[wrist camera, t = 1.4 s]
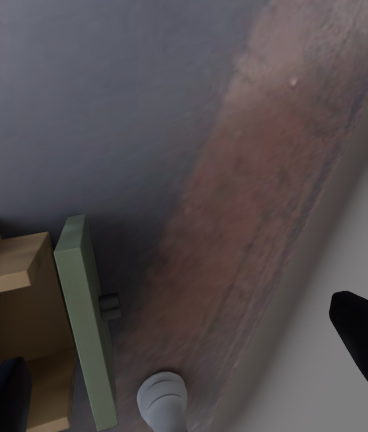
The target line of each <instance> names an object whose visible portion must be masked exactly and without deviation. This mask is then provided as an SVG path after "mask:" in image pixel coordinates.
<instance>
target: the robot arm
mask: <svg viewBox="0 0 368 432" xmlns="http://www.w3.org/2000/svg"><path fill="white" fill-rule="evenodd" d="M329 317H330V320H331V322H332V323H333V325H334V327H335V329H336V330H337V332H338V334H339V335H340V337H341V339H342V341H343V343H344V344H345V346H346V348H347V349H348V351H349V353H350V354H351V356H352V358H353V360H354V362H355V363H356V365H357V366H358V368H359V370H360V371H361V372H362V374H363V375H364V377H365V378H366V380H367V381H368V300H367V299H365V298H363V297H360V296H358V295H356V294H354V293H352V292H349V291H341V292H336V293H334V294H333V296H332V299H331V305H330V310H329ZM32 387H33V378H32V374H31V372H30V370H29V368H28V366H27V364H26V362H25V360H24V358H23V357H21V356H19V357H14V358H9V359H6V360H4V361H3V362H2V363H1V364H0V432H26V429H27V422H28V415H29V408H30V401H31V394H32Z"/></svg>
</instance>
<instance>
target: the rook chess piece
mask: <svg viewBox="0 0 368 432" xmlns="http://www.w3.org/2000/svg"><path fill="white" fill-rule="evenodd" d="M187 401H188V396H187V391H186V388H185V384H184V380H183V379H182V378H181V377H180V376H179V375H177V374H174V373H172V372H169V371H166V372H158V373H156V374H153V375H151V376H150V377H149V378H147V379H146V380H145V381H144V383H143V384H142V386H141V387H140V389H139V390H138V394H137V403H138V406H139V411H140V414H141V416H142V418H143V419H144V420H145V421H146V422H147V424H148V425H149V426H150V427H151V428H152V429H153V431H154V432H188V430H187V425H186V419H185V412H186V405H187Z"/></svg>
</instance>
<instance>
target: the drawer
mask: <svg viewBox="0 0 368 432" xmlns="http://www.w3.org/2000/svg"><path fill="white" fill-rule="evenodd" d="M121 317H122V313H121V307H120V301H119V296H118V292H114V293H110V294H106V295H102V292H101V287H100V282H99V277H98V272H97V267H96V262H95V257H94V253H93V248H92V243H91V238H90V233H89V228H88V223H87V218H86V214H82V215H76V216H70V217H68V218H67V220H66V223H65V225H64V228H63V230H62V233H61V235H60V238H59V241H58V243H57V246H56V248H55V251H54V252H53V248H52V243H51V239H50V235H49V232H42V233H37V234H31V235H25V236H19V237H14V238H8V239H2V240H0V364H1V363H2V362H3V361H4V360H6V359H9V358H14V357H19V356H21V357H23V358H24V360H25V362H26V364H27V366H28V368H29V370H30V372H31V374H32V378H33V387H32V394H31V401H30V408H29V415H28V422H27V429H26V432H58V431H61V430H64V429H67V428H70V423H71V413H72V402H73V391H74V380H75V370H76V359H77V351H78V355H79V359H80V363H81V367H82V371H83V375H84V379H85V384H86V388H87V392H88V396H89V400H90V404H91V408H92V412H93V416H94V421H95V425H96V429H97V431H98V432H99V431H101V430H104V429H107V428H110V427H113V426H116V425H118V423H119V422H118V410H117V397H116V385H115V372H114V359H113V347H112V341H111V336H110V331H109V326H108V321H109V320H113V319H117V318H121Z"/></svg>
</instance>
